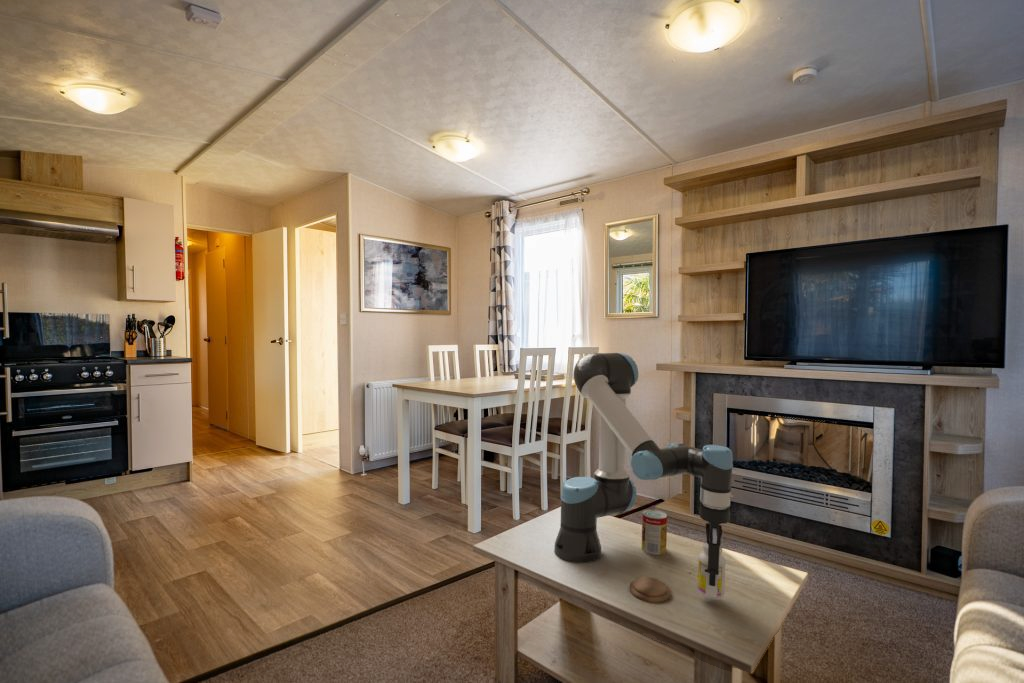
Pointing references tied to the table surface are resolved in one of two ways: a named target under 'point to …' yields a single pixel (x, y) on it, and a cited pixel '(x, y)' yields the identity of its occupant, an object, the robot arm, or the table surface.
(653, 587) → the plinth
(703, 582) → the supplement bottle
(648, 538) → the canned food
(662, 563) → the table surface
